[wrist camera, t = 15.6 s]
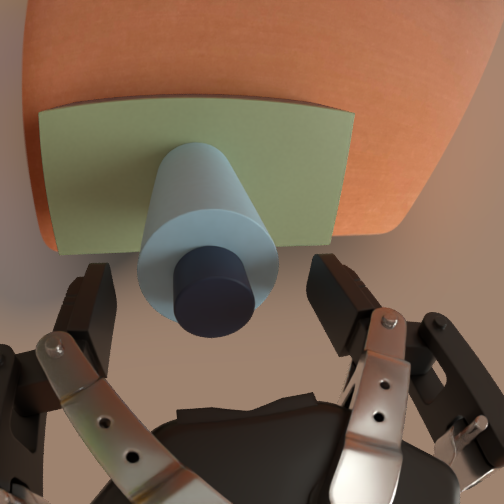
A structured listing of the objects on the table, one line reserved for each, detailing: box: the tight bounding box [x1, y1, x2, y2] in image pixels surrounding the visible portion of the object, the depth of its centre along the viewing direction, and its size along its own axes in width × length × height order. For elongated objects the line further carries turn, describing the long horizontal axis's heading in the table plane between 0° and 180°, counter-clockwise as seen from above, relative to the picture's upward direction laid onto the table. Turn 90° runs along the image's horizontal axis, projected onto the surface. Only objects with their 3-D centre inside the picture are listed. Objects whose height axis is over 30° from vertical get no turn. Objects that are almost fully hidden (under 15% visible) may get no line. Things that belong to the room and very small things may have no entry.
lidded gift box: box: [38, 94, 355, 255], centre depth 25 cm, size 24×12×8 cm, turn 85°
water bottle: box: [137, 142, 279, 338], centre depth 16 cm, size 6×6×14 cm
